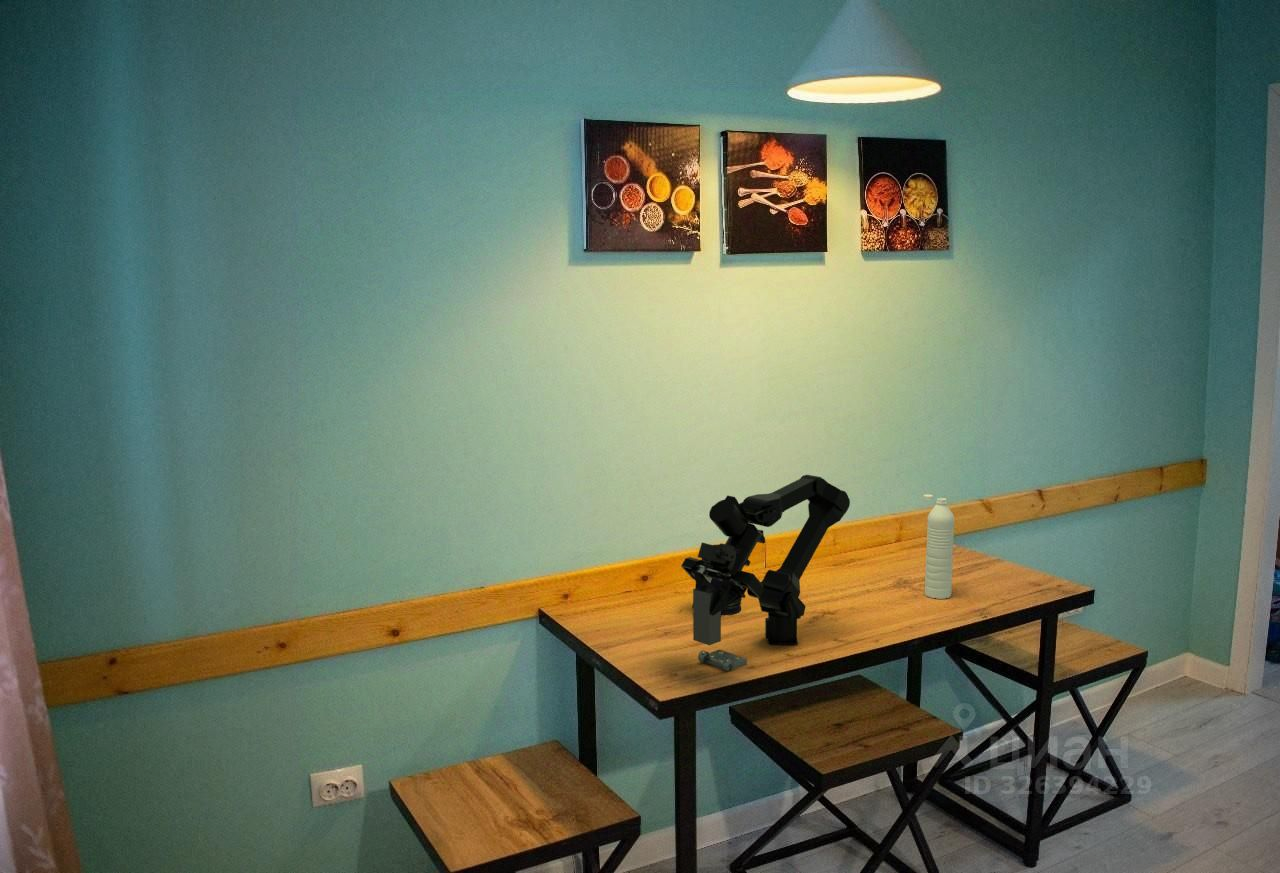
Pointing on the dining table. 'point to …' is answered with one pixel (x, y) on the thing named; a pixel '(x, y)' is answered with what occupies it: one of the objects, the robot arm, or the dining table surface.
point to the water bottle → (939, 550)
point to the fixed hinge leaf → (722, 659)
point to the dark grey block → (706, 616)
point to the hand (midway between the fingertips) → (702, 611)
